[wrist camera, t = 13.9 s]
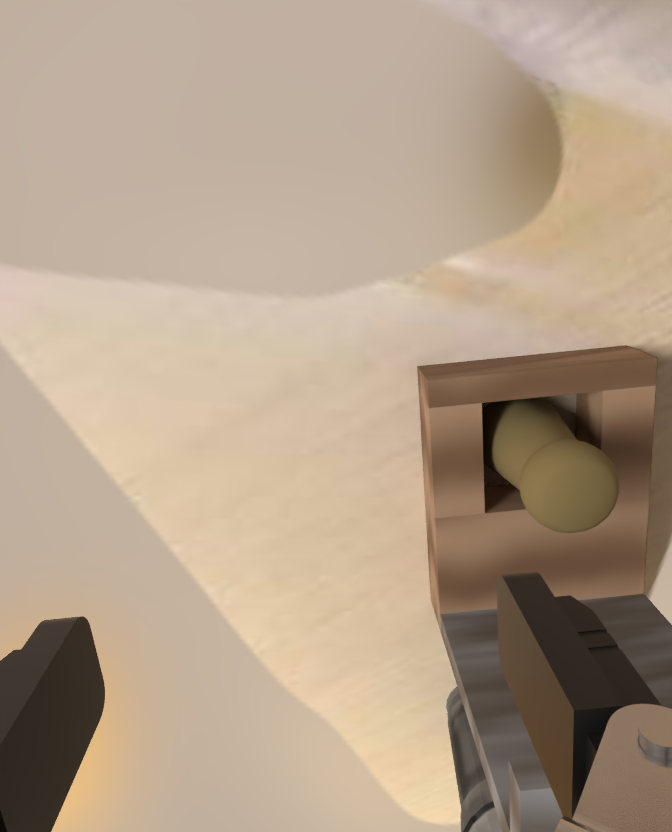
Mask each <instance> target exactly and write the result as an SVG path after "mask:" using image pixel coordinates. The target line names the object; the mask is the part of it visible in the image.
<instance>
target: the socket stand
mask: <svg viewBox="0 0 672 832" xmlns="http://www.w3.org/2000/svg"><path fill="white" fill-rule="evenodd" d="M417 368H418V385H419V402H420V420H421V437H422V454H423V472H424V489H425V506H426V523H427V541H428V558H429V575H430V593H431V602H432V605H433V608H434V611H435V614H436V618H437V621H438V624H439V627H440V631H441V634H442V637H443V640H444V644H445V647H446V650H447V653H448V657H449V660H450V663H451V666H452V670H453V673H454V676H455V679H456V683H457V686H458V689H459V692H460V696H461V699H462V702H463V705H464V708H465V712H466V715H467V718H468V721H469V725H470V728H471V731H472V734H473V738H474V741H475V744H476V747H477V751H478V754H479V757H480V760H481V764H482V767H483V770H484V773H485V777H486V780H487V783H488V786H489V790H490V793H491V796H492V799H493V802H494V806H495V809H496V812H497V815H498V819H499V822H500V825H501V828H502V832H555V830H556V827H557V825H558V823H559V821H560V820H561V819H562V818H563V815H562V812H561V810H560V808H559V805H558V803H557V800H556V798H555V796H554V793H553V791H552V788H551V786H550V784H549V781H548V779H547V777H546V774H545V772H544V769H543V767H542V765H541V762H540V760H539V757H538V755H537V753H536V750H535V748H534V746H533V743H532V741H531V738H530V736H529V734H528V731H527V729H526V726H525V724H524V722H523V719H522V717H521V715H520V712H519V710H518V707H517V705H516V703H515V700H514V698H513V695H512V693H511V691H510V688H509V686H508V684H507V681H506V679H505V676H504V673H503V669H502V666H501V661H500V655H499V648H498V615H497V580H498V577H499V576H500V575H510V574H520V573H530V572H538V573H539V574H540V575H541V576H542V578H543V579H544V581H545V583H546V584H547V586H548V587H549V589H550V590H551V592H552V593H553V595H554V596H555V597H558V596H568V595H571V596H572V597H574V598H575V599H577V600H578V601H580V602H581V603H583V604H584V605H586V606H587V607H589V608H590V609H592V610H593V611H594V613H595V614H596V615H597V617H598V618H599V619H600V621H601V622H602V624H603V625H604V626H605V628H606V629H607V633H610V635H611V636H612V637H613V639H614V640H615V642H616V643H617V644H618V648H619V649H621V650H622V651H623V653H624V654H625V655H626V657H627V658H628V660H629V661H630V662H631V664H632V665H633V667H634V668H635V669H636V671H637V672H638V674H639V675H640V676H641V678H642V679H643V680H644V682H645V683H646V685H647V686H648V687H649V689H650V690H651V692H652V693H653V694H654V696H655V697H656V698H657V700H658V701H659V703H660V704H661V705H662V706H663V707H667V708H670V709H672V625H671V624H670V623H669V622H668V621H667V619H666V618H665V617H664V616H663V615H662V614H661V613H660V611H659V610H658V609H657V608H656V607H655V606H654V605H653V604H652V602H651V601H650V600H649V599H648V598H647V597H646V596H645V595H644V579H645V561H646V544H647V527H648V510H649V492H650V475H651V458H652V441H653V424H654V406H655V389H656V372H657V357H654V356H652V355H649V354H646V353H644V352H641V351H639V350H636V349H633V348H631V347H628V346H617V347H607V348H597V349H587V350H577V351H567V352H557V353H547V354H537V355H527V356H517V357H507V358H497V359H487V360H477V361H467V362H457V363H447V364H437V365H427V366H417ZM576 393H577V402H576V439H577V440H578V441H584V442H587V443H589V444H591V445H593V446H595V447H597V448H598V449H600V450H601V451H602V452H603V453H604V454H605V455H606V456H607V457H608V458H609V459H610V460H611V461H612V463H613V465H614V467H615V470H616V472H617V475H618V477H619V495H618V498H617V501H616V504H615V507H614V509H613V510H612V512H611V513H610V514H609V516H608V517H607V518H606V519H605V520H604V521H603V522H601V523H600V524H599V525H598V526H596V527H593V528H591V529H589V530H587V531H583V532H576V533H561V532H555V531H553V530H551V529H549V528H547V527H545V526H543V525H541V524H539V523H538V522H537V521H536V520H535V519H534V518H533V517H532V516H531V515H530V514H529V513H528V511H527V510H526V508H525V505H524V503H523V501H522V499H521V495H520V490H519V489H518V488H516V487H515V486H514V485H502V486H492V487H484V465H483V428H482V403H487V402H497V401H507V400H517V399H527V398H537V397H547V396H557V395H567V394H576Z"/></svg>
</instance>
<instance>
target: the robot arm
mask: <svg viewBox="0 0 672 832" xmlns="http://www.w3.org/2000/svg"><path fill="white" fill-rule="evenodd" d="M497 615H498V648H499V655H500V661H501V666H502V669H503V673H504V676H505V679H506V681H507V684H508V686H509V688H510V691H511V693H512V695H513V698H514V700H515V703H516V705H517V707H518V710H519V712H520V715H521V717H522V719H523V722H524V724H525V726H526V729H527V731H528V734H529V736H530V738H531V741H532V743H533V746H534V748H535V750H536V753H537V755H538V757H539V760H540V762H541V765H542V767H543V769H544V772H545V774H546V777H547V779H548V781H549V784H550V786H551V788H552V791H553V793H554V796H555V798H556V800H557V803H558V805H559V808H560V810H561V812H562V815H563V818H562V819H561V820H560V821H559V823H558V825H557V827H556V830H555V832H672V709H670V708H667V707H663V706H662V705H661V704H660V703H659V701H658V700H657V698H656V697H655V696H654V694H653V693H652V692H651V690H650V689H649V687H648V686H647V685H646V683H645V682H644V680H643V679H642V678H641V676H640V675H639V674H638V672H637V671H636V669H635V668H634V667H633V665H632V664H631V662H630V661H629V660H628V658H627V657H626V655H625V654H624V653H623V651H622V650H621V649H619V648H618V644H617V643H616V642H615V640H614V639H613V637H612V636H611V635H610V633H607V629H606V628H605V626H604V625H603V624H602V622H601V621H600V619H599V618H598V617H597V615H596V614H595V613H594V611H593V610H592V609H590V608H589V607H587V606H586V605H584V604H583V603H581V602H580V601H578V600H577V599H575V598H574V597H572V596H571V595H568V596H558V597H555V596H554V595H553V593H552V592H551V590H550V589H549V587H548V586H547V584H546V583H545V581H544V579H543V578H542V576H541V575H540V574H539V573H538V572H530V573H520V574H510V575H500V576H499V577H498V580H497ZM104 700H105V687H104V680H103V676H102V672H101V668H100V664H99V660H98V656H97V652H96V648H95V645H94V640H93V636H92V632H91V628H90V625H89V622H88V620H87V619H86V618H85V617H72V618H63V619H53V620H44V621H42V622H41V623H40V624H39V625H38V626H37V628H36V629H35V631H34V632H33V634H32V635H31V636H30V638H29V639H28V641H27V642H26V644H25V645H24V647H23V648H22V649H21V650H14V651H12V652H11V653H10V654H8V655H7V656H6V657H5V658H3V659H2V660H1V661H0V832H51V831H52V828H53V826H54V824H55V821H56V819H57V817H58V815H59V812H60V810H61V808H62V805H63V803H64V801H65V799H66V796H67V794H68V792H69V789H70V787H71V785H72V783H73V780H74V778H75V776H76V773H77V771H78V769H79V767H80V764H81V762H82V760H83V757H84V755H85V753H86V750H87V748H88V746H89V744H90V741H91V739H92V737H93V734H94V732H95V730H96V728H97V725H98V723H99V721H100V718H101V716H102V712H103V708H104Z"/></svg>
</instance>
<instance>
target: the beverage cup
mask: <svg viewBox="0 0 672 832" xmlns="http://www.w3.org/2000/svg"><path fill="white" fill-rule="evenodd" d="M446 708H447V711H448V727H449V733H450V740H451V746H452V752H453V759H454V765H455V772H456V778H457V785H458V791H459V797H460V804H461V832H502V828H501V825H500V822H499V819H498V815H497V812H496V809H495V806H494V802H493V799H492V796H491V793H490V790H489V786H488V783H487V780H486V777H485V773H484V770H483V767H482V764H481V760H480V757H479V754H478V751H477V747H476V744H475V741H474V738H473V734H472V731H471V728H470V725H469V721H468V718H467V715H466V712H465V708H464V705H463V702H462V699H461V696H460V692H459V689H458V687H456V688H455V689H454V690H453V691H452V692H451V693H450V695H449V697H448V699H447V706H446Z"/></svg>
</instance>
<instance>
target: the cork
mask: <svg viewBox="0 0 672 832" xmlns="http://www.w3.org/2000/svg"><path fill="white" fill-rule="evenodd" d="M482 428H483V461H484V462H485V463H486V464H487V465H488V466H489V467H491V468H492V469H493V470H494V471H496V472H497V473H498V474H500V475H501V476H502V477H503V478H505V479H506V480H507V481H509V482H510V483H511V484H512V485H514V486H515V487H516V488H518V489H519V490H520V495H521V499H522V501H523V503H524V505H525V508H526V510H527V511H528V513H529V514H530V515H531V516H532V517H533V518H534V519H535V520H536V521H537V522H538V523H539V524H541V525H543V526H545V527H547V528H549V529H551V530H553V531H555V532H561V533H576V532H583V531H587V530H589V529H591V528H593V527H596V526H598V525H599V524H600V523H601V522H603V521H604V520H605V519H606V518H607V517H608V516H609V514H610V513H611V512H612V510H613V509H614V507H615V504H616V501H617V498H618V495H619V477H618V475H617V472H616V470H615V467H614V465H613V463H612V461H611V460H610V459H609V458H608V457H607V456H606V455H605V454H604V453H603V452H602V451H601V450H600V449H598V448H597V447H595V446H593V445H591V444H589V443H587V442H584V441H578V440H577V439H576V438H575V436H574V435H573V433H572V432H571V431H570V429H569V428H568V427H567V425H566V424H565V422H564V421H563V420H562V418H561V417H560V415H559V414H558V413H557V411H556V410H555V409H554V407H553V406H552V405H551V404H550V403H549V402H548V401H547V400H546V399H545V398H543V397H537V398H527V399H517V400H507V401H497V402H490V403H489V404H488V405H487V406H486V407H485V408H484V409H483V410H482Z"/></svg>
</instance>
